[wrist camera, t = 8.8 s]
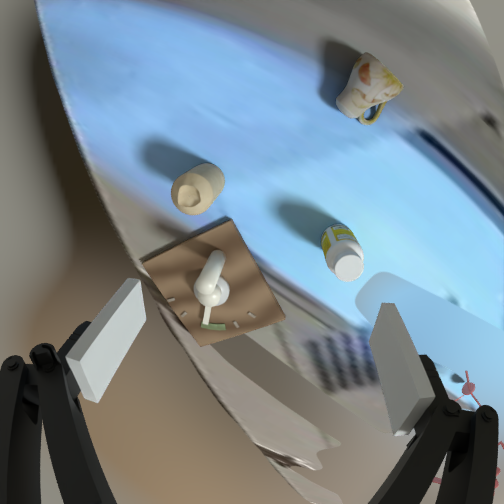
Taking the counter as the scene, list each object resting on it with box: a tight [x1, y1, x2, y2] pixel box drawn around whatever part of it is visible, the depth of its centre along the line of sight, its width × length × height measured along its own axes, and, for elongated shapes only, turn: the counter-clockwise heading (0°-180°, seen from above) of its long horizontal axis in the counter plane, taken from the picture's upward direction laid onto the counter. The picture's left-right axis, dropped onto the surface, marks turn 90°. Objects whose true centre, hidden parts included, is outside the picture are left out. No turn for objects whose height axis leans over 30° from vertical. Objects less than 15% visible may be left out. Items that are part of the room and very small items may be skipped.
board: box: [142, 219, 285, 347], centre depth 53 cm, size 20×18×1 cm
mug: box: [336, 52, 404, 125], centre depth 35 cm, size 8×10×10 cm
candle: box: [171, 163, 225, 215], centre depth 41 cm, size 6×6×10 cm
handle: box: [194, 250, 230, 325], centre depth 47 cm, size 15×6×9 cm, turn 167°
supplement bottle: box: [321, 224, 364, 282], centre depth 43 cm, size 5×5×10 cm
